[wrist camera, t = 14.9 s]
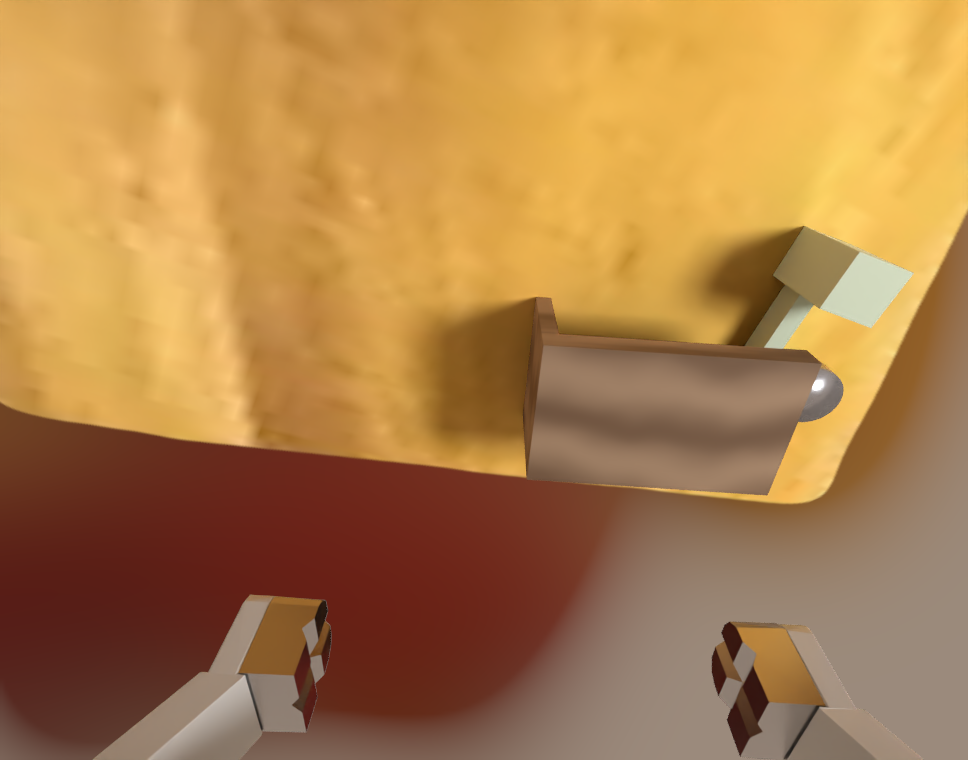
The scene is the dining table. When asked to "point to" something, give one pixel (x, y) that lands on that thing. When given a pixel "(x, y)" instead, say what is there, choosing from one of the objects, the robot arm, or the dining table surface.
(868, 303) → the sage paddle
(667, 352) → the walnut shelf
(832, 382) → the steel puck
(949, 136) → the dining table surface
